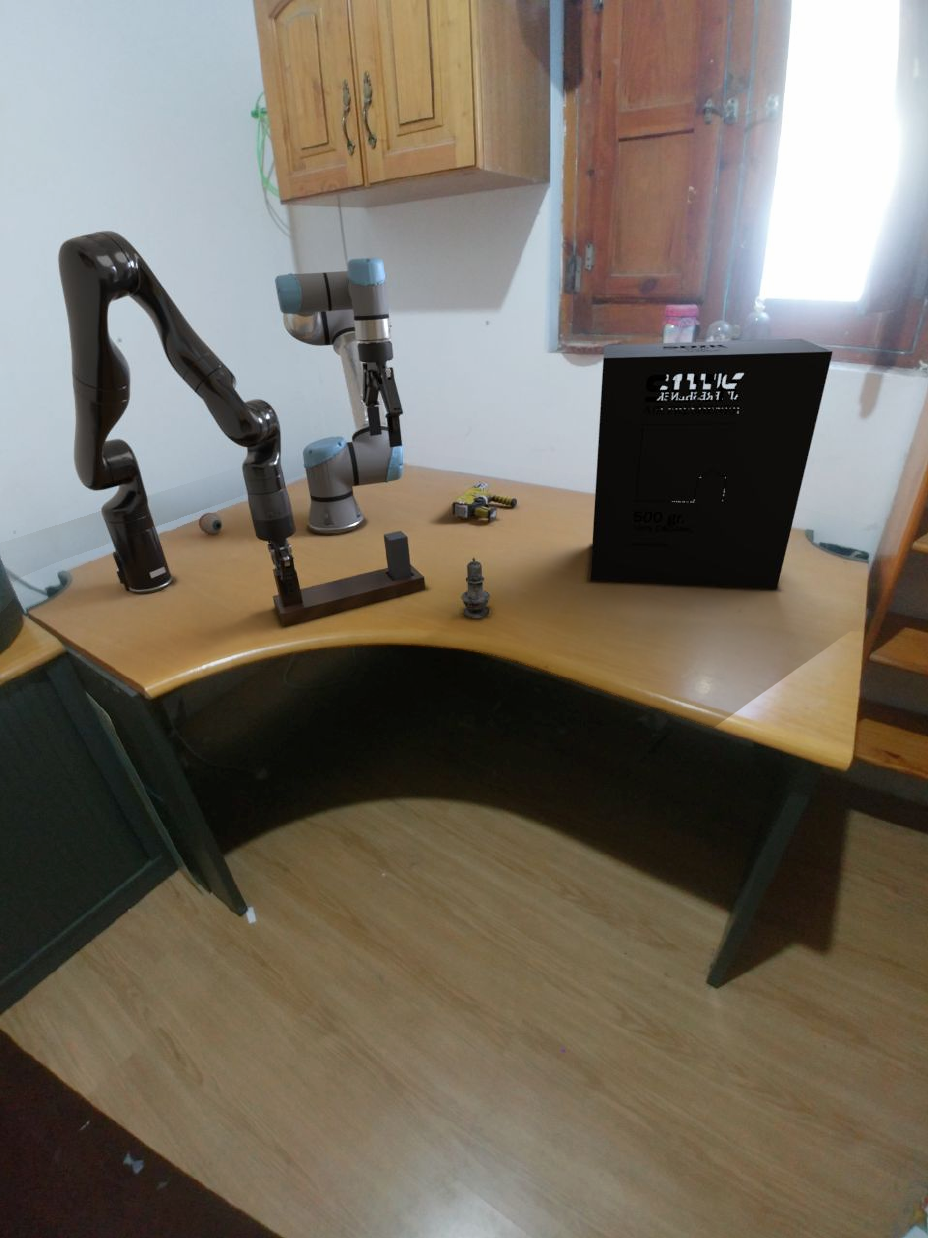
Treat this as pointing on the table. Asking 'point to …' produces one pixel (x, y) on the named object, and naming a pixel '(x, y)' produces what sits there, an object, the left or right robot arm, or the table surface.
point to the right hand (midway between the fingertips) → (385, 440)
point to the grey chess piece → (475, 592)
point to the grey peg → (397, 555)
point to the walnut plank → (341, 594)
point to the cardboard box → (703, 460)
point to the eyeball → (210, 523)
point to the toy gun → (479, 503)
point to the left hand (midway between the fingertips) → (289, 591)
